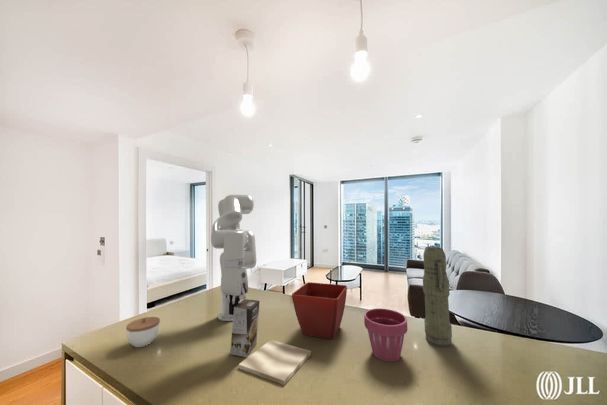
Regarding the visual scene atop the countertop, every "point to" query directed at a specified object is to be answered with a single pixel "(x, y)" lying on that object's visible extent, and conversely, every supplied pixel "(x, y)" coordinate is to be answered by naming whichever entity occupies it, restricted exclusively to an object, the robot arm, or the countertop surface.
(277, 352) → the birch board
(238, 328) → the coffee box
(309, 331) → the plant pot
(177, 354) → the countertop surface
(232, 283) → the robot arm
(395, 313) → the plant pot
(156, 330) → the lidded jar
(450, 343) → the moai statue figurine
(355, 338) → the countertop surface
